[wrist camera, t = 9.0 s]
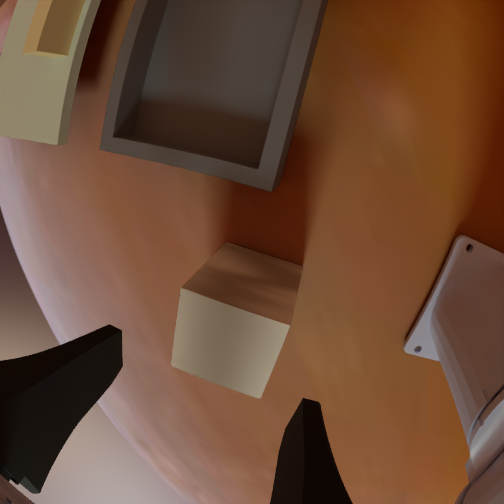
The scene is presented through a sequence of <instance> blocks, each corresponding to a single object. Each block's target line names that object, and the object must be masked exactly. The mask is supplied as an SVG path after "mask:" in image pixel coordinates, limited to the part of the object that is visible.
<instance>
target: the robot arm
mask: <svg viewBox="0 0 504 504" xmlns="http://www.w3.org/2000/svg"><path fill="white" fill-rule="evenodd" d="M468 244H471V248H470V249H469V250H466V247H467V245H468ZM417 346H420V347H419V348H418V349H415V348H416V347H417ZM403 347H404V351H405V352H406V353H409V354H413V355H417V356H420V357H424V358H428V359H433V360H437V361H440V363H441V365H442V368H443V370H444V373H445V376H446V378H447V381H448V384H449V387H450V389H451V392H452V395H453V398H454V401H455V404H456V407H457V410H458V413H459V416H460V419H461V423H462V426H463V429H464V433H465V436H466V440H467V443H468V448H469V452H470V458H469V460H468V461H467V462H466V464H465V466H466V471H467V475H468V480H469V483H468V484H467V485H466V486H465V488H464V489H463V490H462V492H461V493H460V494H459V496H458V498H457V500H456V502H455V504H504V254H503V253H501V252H499V251H497V250H495V249H493V248H491V247H489V246H487V245H484V244H482V243H480V242H478V241H476V240H474V239H471V238H469V237H467V236H465V235H459V236H458V237H456V239H455V241H454V243H453V245H452V248H451V250H450V253H449V255H448V257H447V260H446V262H445V264H444V266H443V269H442V271H441V273H440V275H439V277H438V279H437V282H436V284H435V286H434V288H433V290H432V292H431V294H430V296H429V298H428V300H427V302H426V304H425V306H424V308H423V310H422V312H421V313H420V315H419V317H418V319H417V321H416V323H415V325H414V326H413V328H412V330H411V332H410V333H409V335H408V337H407V339H406V340H405V342H404V345H403ZM122 367H123V359H122V330H120V329H118V328H116V327H114V326H112V325H110V324H109V325H107V326H104V327H102V328H100V329H97V330H95V331H93V332H91V333H88V334H86V335H84V336H81V337H79V338H77V339H74V340H72V341H69V342H67V343H65V344H62V345H59V346H57V347H54V348H51V349H48V350H45V351H42V352H39V353H36V354H32V355H29V356H24V357H20V358H16V359H9V360H3V361H0V504H12V503H13V504H34V503H33V502H32V501H31V500H29V499H28V498H27V497H26V496H24V495H23V494H22V493H21V492H20V491H18V490H17V489H16V488H15V487H14V486H13V485H12V484H10V483H9V481H10V479H11V480H12V481H13V482H14V483H15V484H17V485H18V484H19V483H20V484H21V485H23V486H24V487H25V488H26V489H27V490H29V491H30V492H31V493H35V494H36V493H40V492H41V489H42V487H43V485H44V482H45V480H46V478H47V476H48V473H49V471H50V469H51V467H52V465H53V464H54V462H55V460H56V458H57V456H58V454H59V452H60V450H61V449H62V447H63V446H64V444H65V442H66V441H67V439H68V438H69V436H70V435H71V433H72V431H73V429H74V428H75V427H76V426H77V424H78V423H79V422H80V420H81V419H82V418H83V417H84V416H85V414H86V413H87V412H88V411H89V410H90V409H91V407H92V406H93V405H94V404H95V403H96V402H97V401H98V399H99V398H100V397H101V396H102V395H103V394H104V392H105V391H106V390H107V389H108V388H109V387H110V385H111V384H112V382H113V381H114V379H115V378H116V376H117V375H118V373H119V372H120V370H121V368H122ZM270 504H353V503H352V501H351V499H350V497H349V495H348V493H347V491H346V489H345V486H344V484H343V482H342V479H341V477H340V474H339V472H338V469H337V466H336V463H335V460H334V457H333V454H332V451H331V447H330V444H329V441H328V437H327V433H326V429H325V425H324V420H323V416H322V411H321V405H320V403H319V402H317V401H313V400H309V399H305V398H303V399H302V401H301V402H300V404H299V406H298V408H297V410H296V411H295V413H294V415H293V416H292V418H291V420H290V422H289V423H288V425H287V427H286V428H285V432H284V435H283V439H282V442H281V446H280V450H279V455H278V461H277V467H276V473H275V479H274V485H273V491H272V497H271V501H270Z"/></svg>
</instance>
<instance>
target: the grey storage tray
mask: <svg viewBox="0 0 504 504" xmlns="http://www.w3.org/2000/svg"><path fill="white" fill-rule="evenodd" d="M327 2H328V0H136V2H135V5H134V8H133V11H132V14H131V17H130V20H129V23H128V26H127V29H126V32H125V35H124V39H123V42H122V46H121V49H120V53H119V56H118V60H117V64H116V68H115V72H114V76H113V80H112V85H111V89H110V94H109V99H108V104H107V109H106V114H105V119H104V125H103V131H102V137H101V144H100V150H103V151H108V152H113V153H118V154H123V155H127V156H132V157H137V158H141V159H146V160H150V161H154V162H159V163H163V164H167V165H171V166H176V167H180V168H184V169H188V170H192V171H196V172H200V173H204V174H208V175H211V176H215V177H219V178H223V179H227V180H230V181H234V182H238V183H241V184H245V185H248V186H252V187H256V188H259V189H262V190H266V191H269V192H272V191H273V190H274V189H275V188H276V187H277V186H279V184H280V180H281V177H282V173H283V169H284V166H285V162H286V158H287V154H288V151H289V147H290V143H291V140H292V136H293V132H294V128H295V125H296V121H297V117H298V113H299V109H300V106H301V102H302V98H303V94H304V91H305V87H306V83H307V79H308V75H309V72H310V68H311V64H312V60H313V56H314V52H315V48H316V45H317V41H318V37H319V33H320V29H321V25H322V21H323V17H324V14H325V10H326V6H327Z"/></svg>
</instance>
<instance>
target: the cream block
mask: <svg viewBox="0 0 504 504" xmlns="http://www.w3.org/2000/svg"><path fill="white" fill-rule="evenodd" d="M302 269H303V266H300V265H297V264H294V263H291V262H288V261H285V260H281V259H278V258H275V257H272V256H269V255H266V254H263V253H260V252H257V251H254V250H250V249H247V248H244V247H241V246H238V245H235V244H232V243H229V242H226V243H225V244H224V245H223V246H222V247H221V248H220V249H219V250H218V251H217V252H216V253H215V254H214V255H213V256H212V257H211V258H210V259H209V260H208V261H207V262H206V263H205V264H204V265H203V266H202V267H201V268H200V269H199V270H198V271H197V272H196V273H195V274H194V275H193V276H192V277H191V278H190V279H189V280H188V281H187V282H186V283H185V284H184V285H183V286H182V288H181V293H180V300H179V307H178V314H177V321H176V329H175V336H174V344H173V353H172V361H171V366H173V367H175V368H178V369H180V370H183V371H185V372H187V373H190V374H192V375H195V376H197V377H200V378H203V379H205V380H208V381H210V382H213V383H216V384H218V385H221V386H224V387H227V388H229V389H232V390H235V391H238V392H241V393H244V394H247V395H250V396H253V397H256V398H259V399H260V398H261V396H262V393H263V391H264V389H265V386H266V384H267V382H268V379H269V377H270V374H271V372H272V370H273V367H274V365H275V362H276V360H277V358H278V355H279V353H280V350H281V348H282V345H283V343H284V340H285V338H286V335H287V332H288V330H289V327H290V324H291V320H292V315H293V311H294V307H295V302H296V297H297V293H298V288H299V283H300V279H301V274H302Z"/></svg>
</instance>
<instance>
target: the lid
mask: <svg viewBox="0 0 504 504" xmlns="http://www.w3.org/2000/svg"><path fill="white" fill-rule="evenodd" d="M100 2H101V0H18V2H17V5H16V8H15V10H14V13H13V16H12V19H11V22H10V25H9V28H8V32H7V35H6V38H5V42H4V45H3V49H2V53H1V57H0V136H4V137H11V138H18V139H24V140H30V141H37V142H42V143H48V144H54V145H62V144H67V138H68V131H69V124H70V117H71V111H72V106H73V100H74V95H75V90H76V85H77V81H78V76H79V72H80V68H81V64H82V60H83V56H84V52H85V48H86V45H87V41H88V38H89V35H90V31H91V28H92V25H93V22H94V19H95V16H96V13H97V10H98V7H99V4H100Z"/></svg>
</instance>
